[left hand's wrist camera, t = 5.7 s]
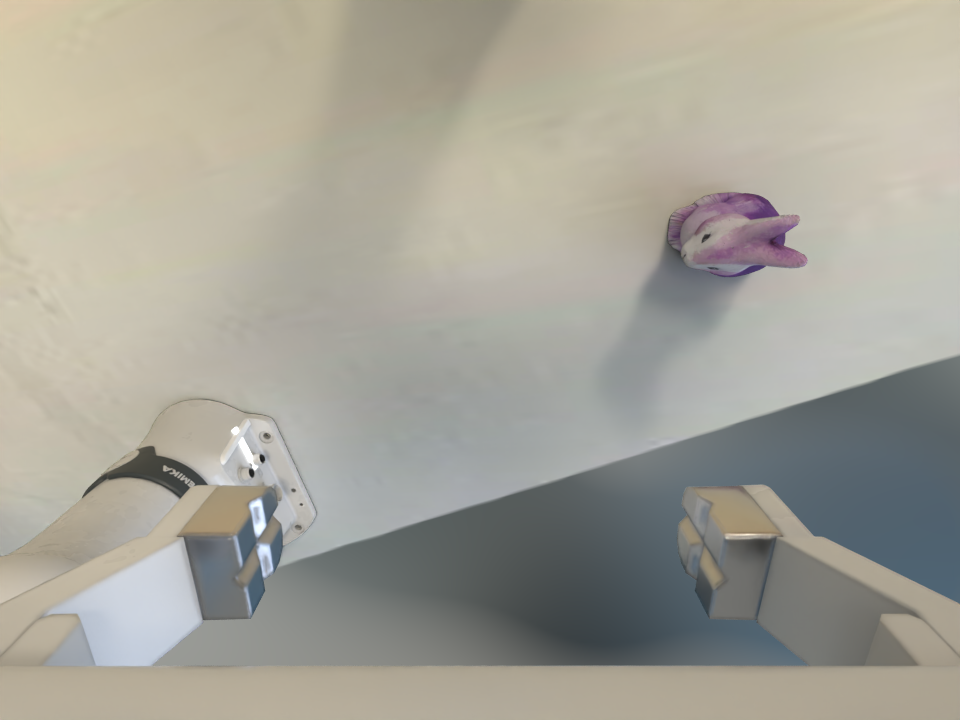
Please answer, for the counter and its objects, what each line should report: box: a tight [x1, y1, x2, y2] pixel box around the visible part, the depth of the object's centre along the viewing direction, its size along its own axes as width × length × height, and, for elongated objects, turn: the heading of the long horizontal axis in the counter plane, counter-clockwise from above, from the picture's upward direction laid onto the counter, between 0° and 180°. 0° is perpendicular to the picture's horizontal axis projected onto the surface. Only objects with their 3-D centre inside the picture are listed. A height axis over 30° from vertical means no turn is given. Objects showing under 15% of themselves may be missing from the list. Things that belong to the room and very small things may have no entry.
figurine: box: [668, 193, 808, 277], centre depth 48 cm, size 9×10×15 cm
